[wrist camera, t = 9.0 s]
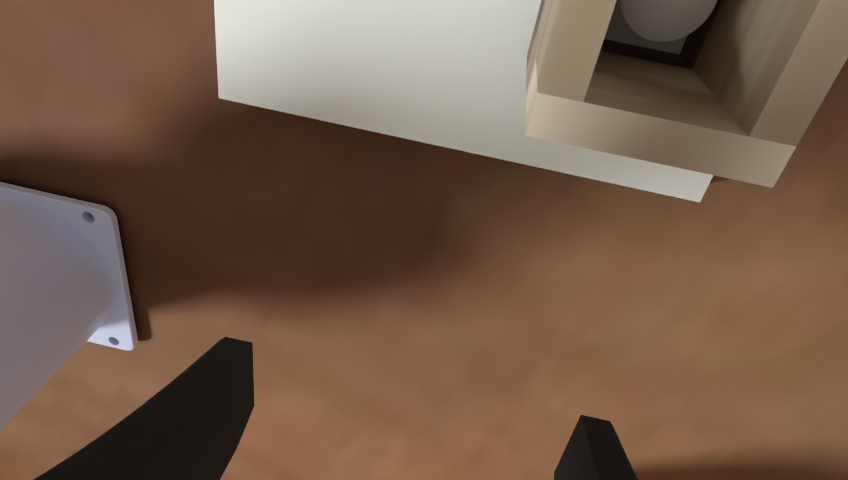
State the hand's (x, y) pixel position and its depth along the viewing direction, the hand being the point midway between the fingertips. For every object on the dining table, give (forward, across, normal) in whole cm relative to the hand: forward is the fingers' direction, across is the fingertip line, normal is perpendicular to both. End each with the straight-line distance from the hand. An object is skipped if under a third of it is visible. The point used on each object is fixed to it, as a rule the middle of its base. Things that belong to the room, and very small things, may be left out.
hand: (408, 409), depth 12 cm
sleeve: (+9, -4, -8) cm, 12 cm away
